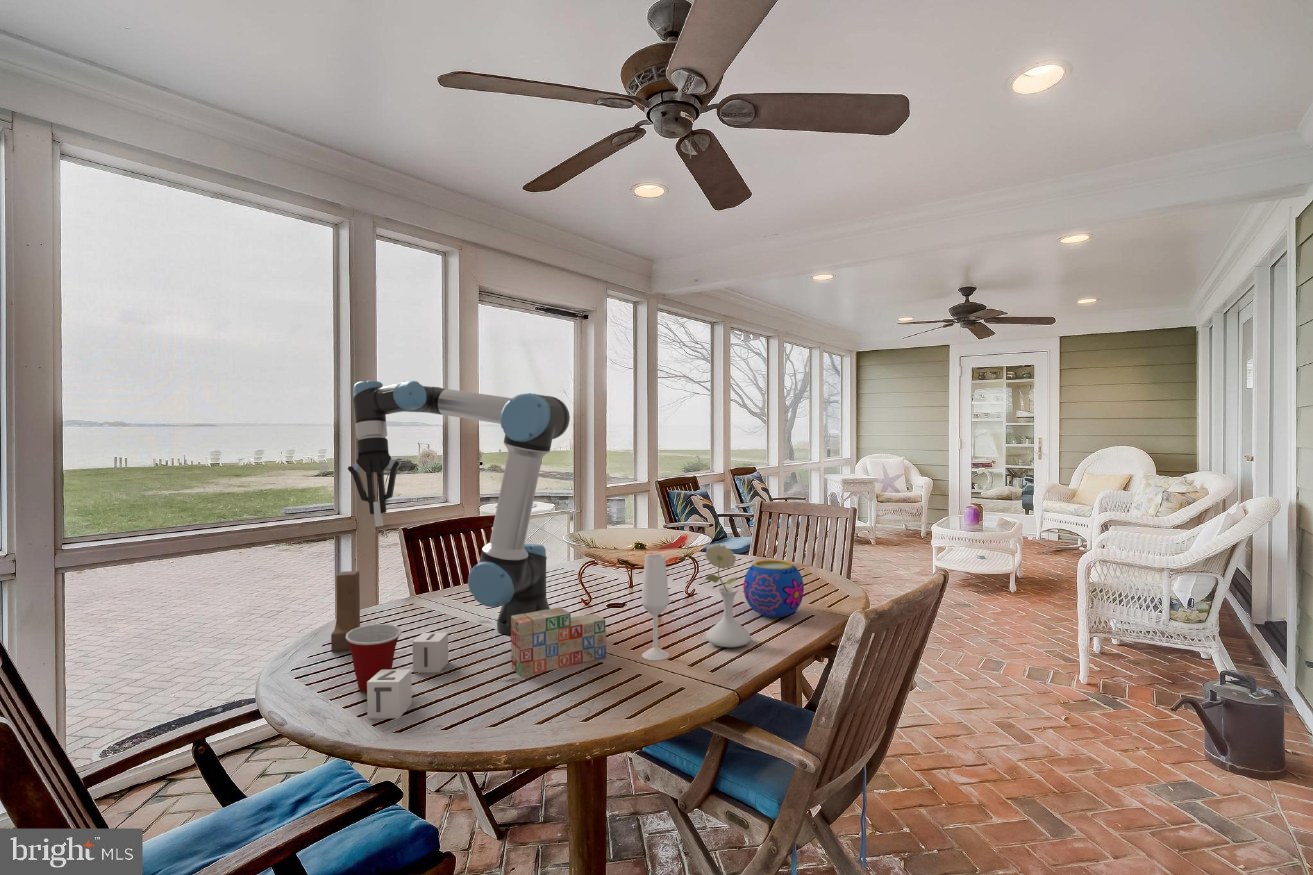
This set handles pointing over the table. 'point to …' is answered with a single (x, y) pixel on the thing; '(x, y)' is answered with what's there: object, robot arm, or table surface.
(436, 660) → the marked block 1
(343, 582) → the wooden block
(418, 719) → the table surface
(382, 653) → the plastic cup
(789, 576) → the ceramic pot
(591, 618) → the stack of blocks
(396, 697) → the marked block 7
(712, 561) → the flower in vase
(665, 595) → the champagne flute
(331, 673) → the table surface
